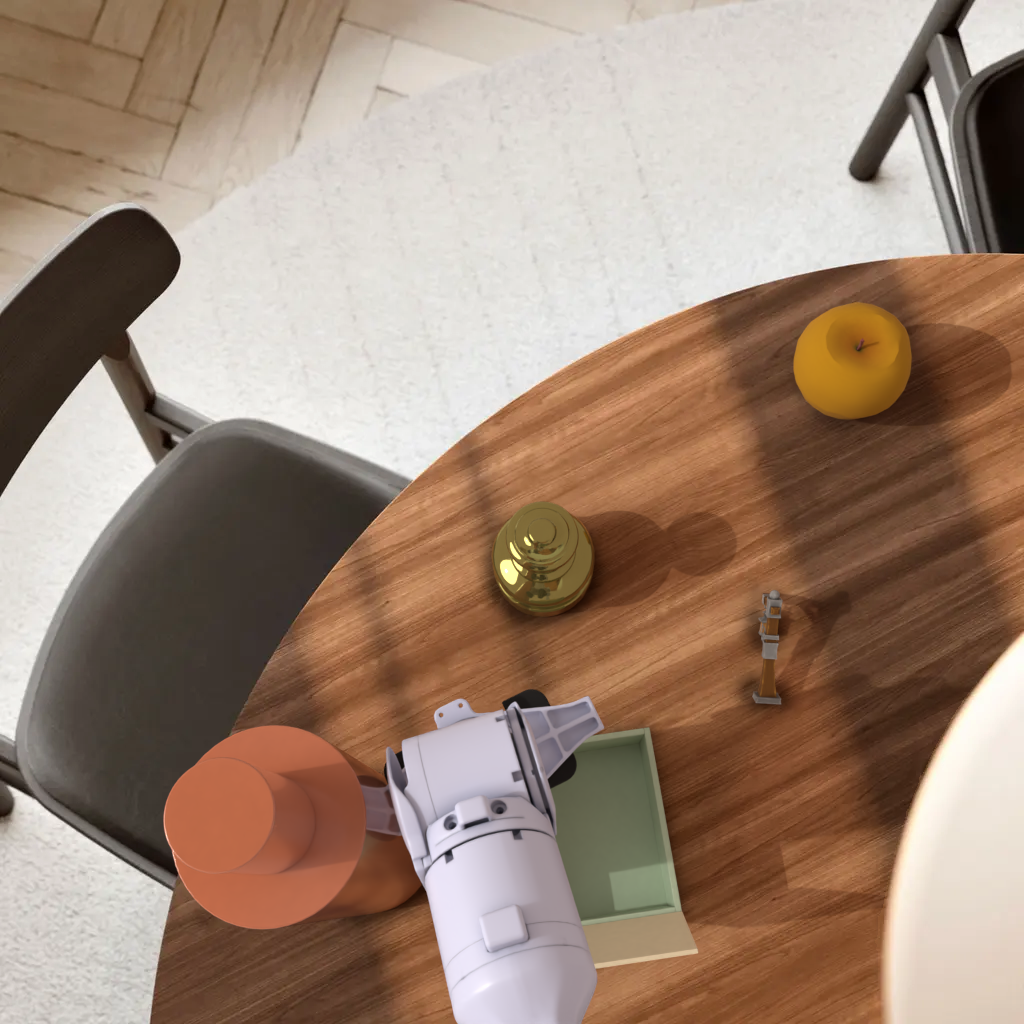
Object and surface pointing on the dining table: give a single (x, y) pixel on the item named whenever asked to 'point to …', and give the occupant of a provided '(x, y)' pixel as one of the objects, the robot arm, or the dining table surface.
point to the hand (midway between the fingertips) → (482, 761)
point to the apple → (853, 361)
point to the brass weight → (543, 559)
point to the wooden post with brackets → (769, 648)
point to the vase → (286, 832)
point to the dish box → (616, 831)
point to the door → (639, 939)
